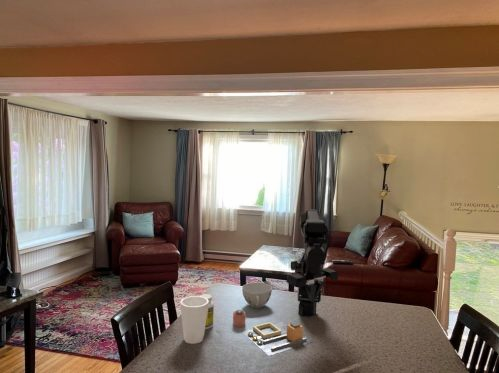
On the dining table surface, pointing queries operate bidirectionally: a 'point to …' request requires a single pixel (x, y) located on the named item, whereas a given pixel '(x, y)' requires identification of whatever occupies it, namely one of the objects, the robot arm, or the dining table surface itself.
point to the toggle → (294, 331)
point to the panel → (275, 339)
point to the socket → (277, 332)
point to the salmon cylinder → (239, 318)
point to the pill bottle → (209, 311)
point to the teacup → (256, 294)
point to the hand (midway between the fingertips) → (311, 301)
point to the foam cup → (194, 318)
